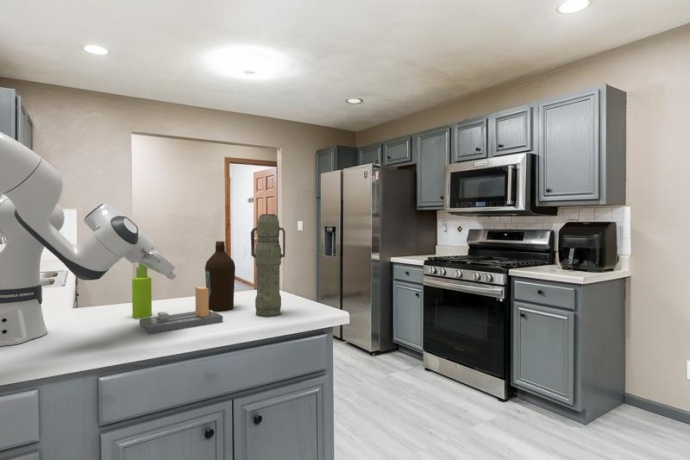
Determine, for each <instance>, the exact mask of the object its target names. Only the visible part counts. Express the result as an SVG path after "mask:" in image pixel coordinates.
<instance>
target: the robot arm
mask: <svg viewBox="0 0 690 460" xmlns="http://www.w3.org/2000/svg"><path fill="white" fill-rule="evenodd" d="M62 193H63V180H62V176H61V174H60V173H59V172H58V170H57V169H56V168H55V167H54V166H53V165H51V164H50V163H49V162H48V161H47V160H46V159H44V158H43V157H42V156H40V155H39V154H37V153H36V152H35V151H34V150H32V149H30V148H29V147H27V146H26V145H24V144H23V143H21V142H20V141H18V140H16V139H15V138H12V137H11V136H9V135H7V134H5V133H3V132H2V131H0V238H7V240H6V243H5V246H4V248H3V249H2V251H0V347H1V346H3V347H4V346H12V345H19V344H22V343H25V342H27V341H29V340H33V339H37V338H39V337H43V336H44V335H46V334H48V328H47V326H46V323H45V320H44V315H43V310H42V304H43V287H42V284H41V283H40V282H41V280H40V279H41V277H40V276H41V274H40V273H41V260H42V259H41V258H42V255H43V252H44V249H47V250H48V251H49V252H50V253H52V254H53V255H54V256H55V257H56V258H57V259H58V260H59V261H60V262H61V263H63V265H64V266H65V267H66V268H67V269H68V270H69V271H70V272H71V273H72V274H73V275H74V276H75V277H77V279H80V280H81V281H96V280H100V279H101V278H103V276H105V275H106V273H107V272H109V270H110V269H111V268H112V267H113V266H115V264H116V263H118V262H120V261H121V259H122V258H124V259H126V261H128V262H129V263H131V264H134V263H138V265H139V264H140V263H141V264H142V265H144V266H145V267H147V269H150V270H151V271H153V272H157V273H159V274H161V275H163V276H165V277H166V278H167V279H169V280H171V281H173V280H175V278H176V277H177V275H176V273H174V272H173V271H174V270H175V269H176V266H175V265H174V263H172V262H171V261H170V260H168V259H167V258H166V257H165V256H164V255H163V254H162V253H159V252H158V251H157V250H156V247H154V244H155V241H154V239H152V237H150V236H149V235H148V234H146V232H144V231H143V230H142V229H140V228H138V226H137V224H136V223H134V222H133V221H132V220H131V219H130V218H128V217H127V216H125V215H124V214H123V213H121V212H120V211H119V210H118V209H116V208H115V207H114V206H112V205H110V204H108V203H102V204H100V205H99V204H98V206H97V207H95V208H94V209H92V210H91V211H90V212H89V213H88V214H87V215H86V216H85V217H84V219H83V222H84V224H86V226H87V227H88V228H89V229H91V231H92V233H91V234H90V235H88V237H86V238H85V239H84V240H82V242H80V243H77V244H73V243H72V242H70V240H69V239H67V238H66V237H65V236H64V234H62V233H61V232H60V231H61V229H62V228H63V226H64V223H65V212H64V210H63V209H62V206H61V205H59V204H58V203H59V201H60V199H61V196H62Z"/></svg>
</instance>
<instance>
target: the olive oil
mask: <svg viewBox="0 0 690 460" xmlns="http://www.w3.org/2000/svg"><path fill="white" fill-rule="evenodd" d="M214 246H215V251H214V253H213V254H212V255H211V256H210V257H209V258H208V259H207V261H206V263H205V267H204V275H205V287H206V288H208V297H209V310H212V311H214V312H215V313H219V312H227V311H231V310H233V309H234V307H235V305H234V304H235V283H236V282H235V279H236V265H235V261H234V259H233V258H232V257H231V256H230V255H229V254H228V253H227V252H226V245H225V241H224V240H217V241H215V245H214Z"/></svg>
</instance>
